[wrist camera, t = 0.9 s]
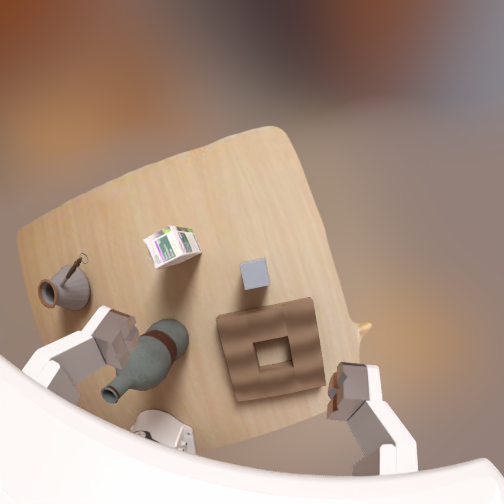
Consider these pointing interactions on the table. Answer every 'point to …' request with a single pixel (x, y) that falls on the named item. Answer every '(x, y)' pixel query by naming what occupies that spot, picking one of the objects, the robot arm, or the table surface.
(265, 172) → the table surface
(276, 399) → the table surface
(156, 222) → the table surface
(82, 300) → the coffee pot
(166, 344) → the bottle
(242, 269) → the peg
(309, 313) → the socket block
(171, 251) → the syrup box
